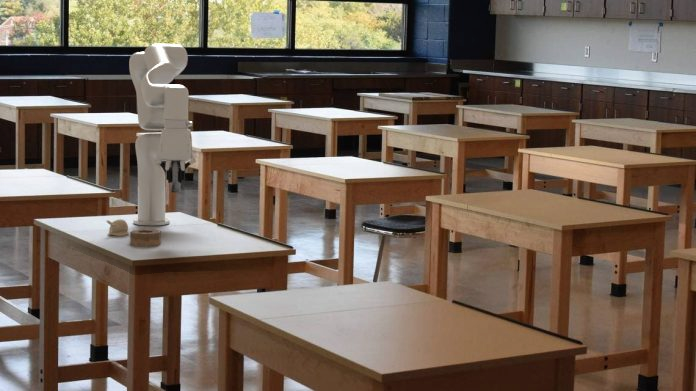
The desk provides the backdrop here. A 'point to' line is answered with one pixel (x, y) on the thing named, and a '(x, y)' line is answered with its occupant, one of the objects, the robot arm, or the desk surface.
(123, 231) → the decorative ornament
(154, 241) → the bead
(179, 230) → the desk surface
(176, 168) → the grey square post
